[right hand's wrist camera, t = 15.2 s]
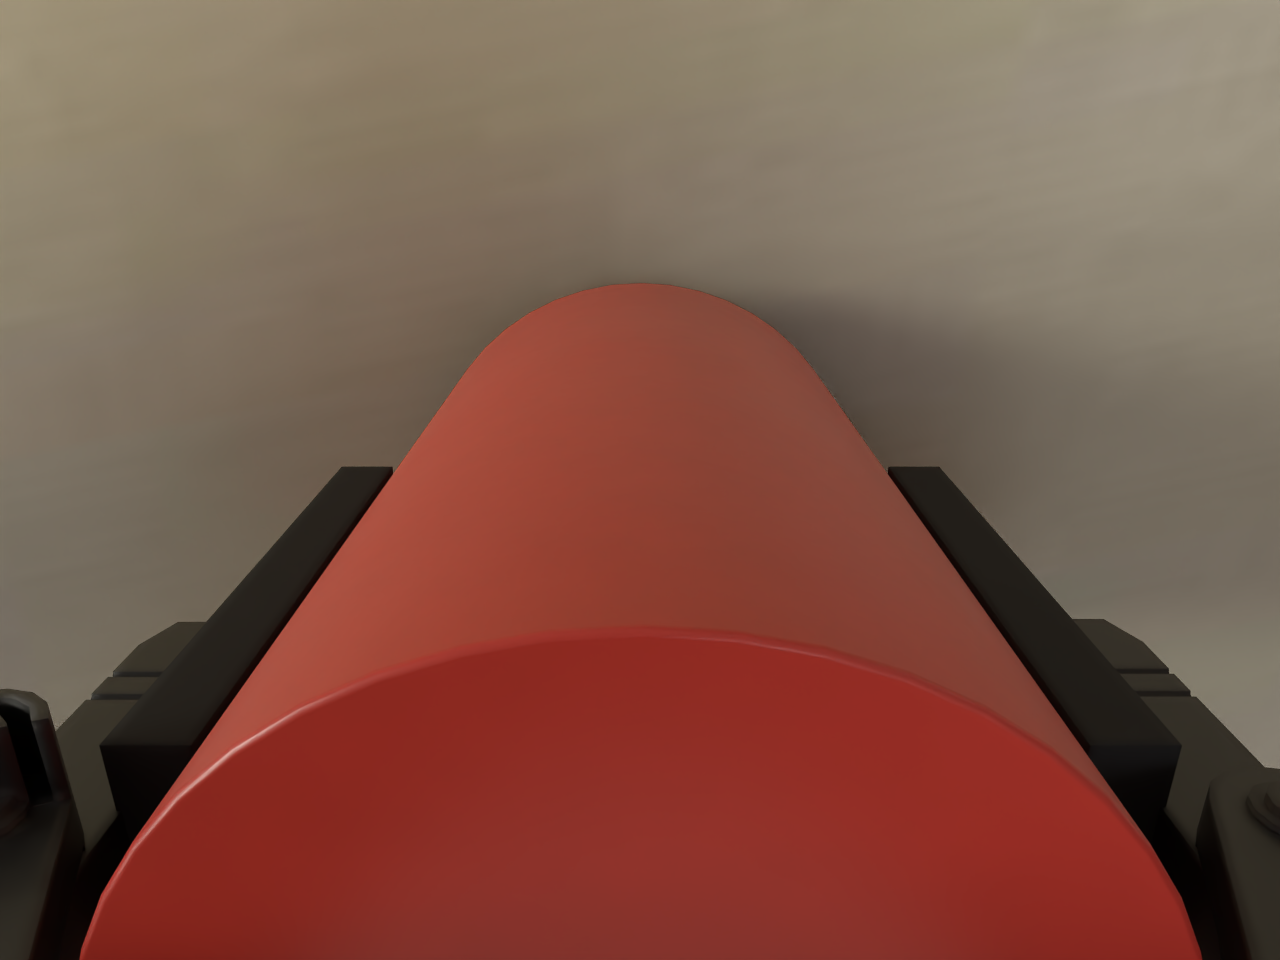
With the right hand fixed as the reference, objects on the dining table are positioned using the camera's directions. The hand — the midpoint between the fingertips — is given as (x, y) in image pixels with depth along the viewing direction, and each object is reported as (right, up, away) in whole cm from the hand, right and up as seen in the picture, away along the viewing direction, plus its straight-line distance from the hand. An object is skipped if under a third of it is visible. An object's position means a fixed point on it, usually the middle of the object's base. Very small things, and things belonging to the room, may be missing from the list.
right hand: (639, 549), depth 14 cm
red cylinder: (0, +1, +2) cm, 3 cm away
